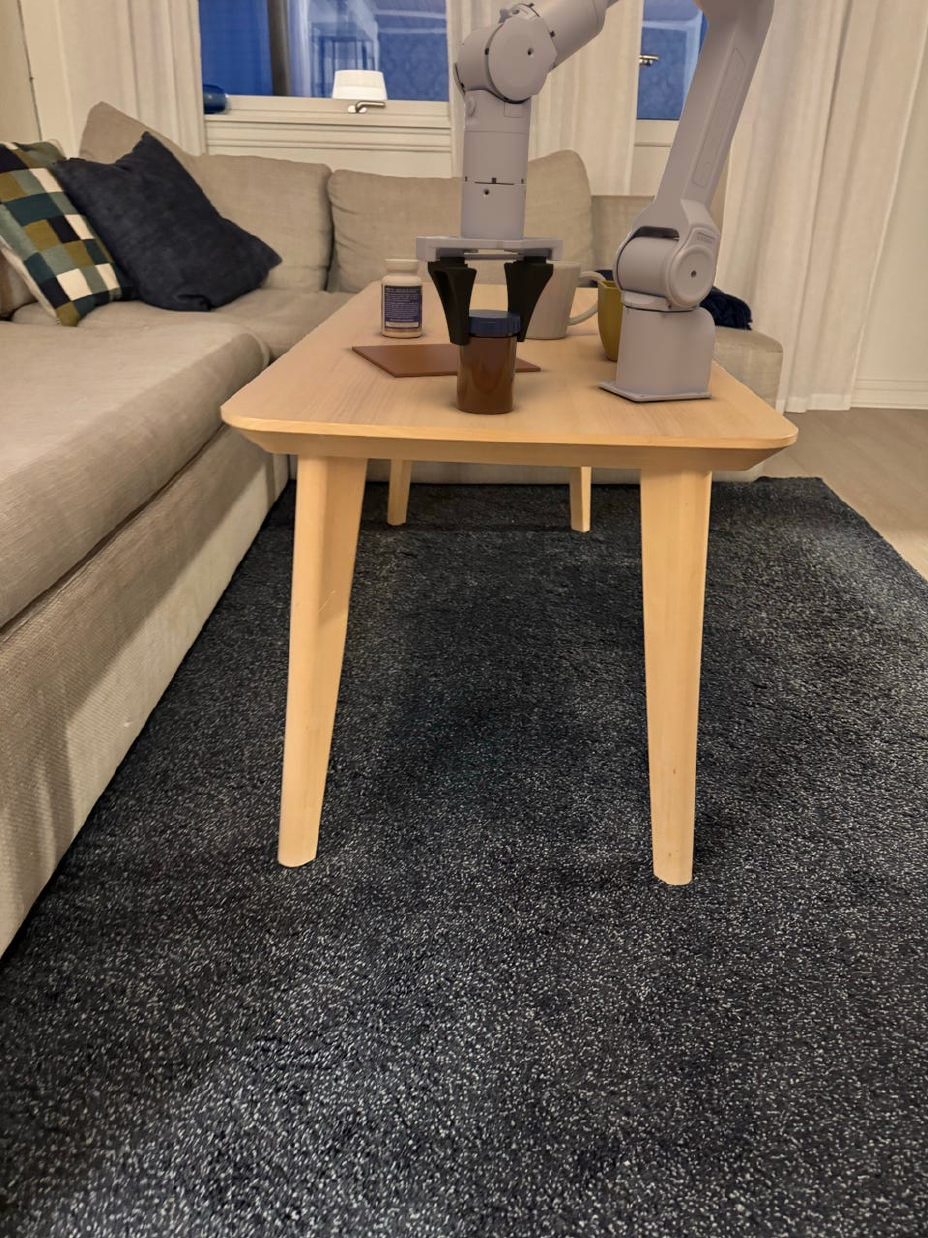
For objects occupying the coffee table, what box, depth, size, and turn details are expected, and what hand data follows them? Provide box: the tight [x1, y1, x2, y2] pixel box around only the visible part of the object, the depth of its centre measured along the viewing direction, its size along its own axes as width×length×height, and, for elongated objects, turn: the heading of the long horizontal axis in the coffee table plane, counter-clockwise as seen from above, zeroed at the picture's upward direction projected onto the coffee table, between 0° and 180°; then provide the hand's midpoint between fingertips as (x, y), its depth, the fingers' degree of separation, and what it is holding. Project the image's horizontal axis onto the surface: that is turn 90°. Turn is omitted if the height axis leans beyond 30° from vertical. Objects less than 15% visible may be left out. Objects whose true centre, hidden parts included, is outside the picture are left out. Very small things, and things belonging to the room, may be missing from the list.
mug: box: [507, 260, 607, 340], centre depth 130 cm, size 10×15×10 cm
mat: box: [351, 343, 542, 378], centre depth 111 cm, size 18×18×1 cm
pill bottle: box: [380, 258, 424, 339], centre depth 125 cm, size 6×6×10 cm
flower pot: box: [597, 280, 625, 362], centre depth 115 cm, size 9×9×9 cm
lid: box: [469, 308, 521, 334], centre depth 85 cm, size 6×6×1 cm
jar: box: [455, 333, 518, 415], centre depth 87 cm, size 6×6×8 cm
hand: (487, 342), depth 86 cm, fingers closed on lid, 6 cm apart
